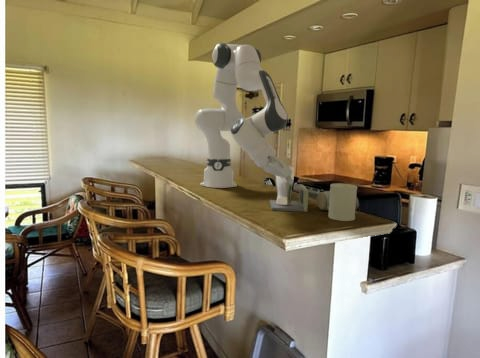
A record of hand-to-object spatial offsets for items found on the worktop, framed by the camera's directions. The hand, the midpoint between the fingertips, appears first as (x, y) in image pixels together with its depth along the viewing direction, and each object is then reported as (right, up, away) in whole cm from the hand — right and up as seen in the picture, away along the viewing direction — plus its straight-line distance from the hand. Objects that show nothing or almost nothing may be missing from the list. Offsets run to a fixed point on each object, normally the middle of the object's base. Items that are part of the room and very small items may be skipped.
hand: (286, 180), depth 136 cm
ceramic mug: (+17, -12, -3) cm, 21 cm away
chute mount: (0, -10, +1) cm, 10 cm away
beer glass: (-1, -9, +1) cm, 9 cm away
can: (+18, -13, -13) cm, 26 cm away
